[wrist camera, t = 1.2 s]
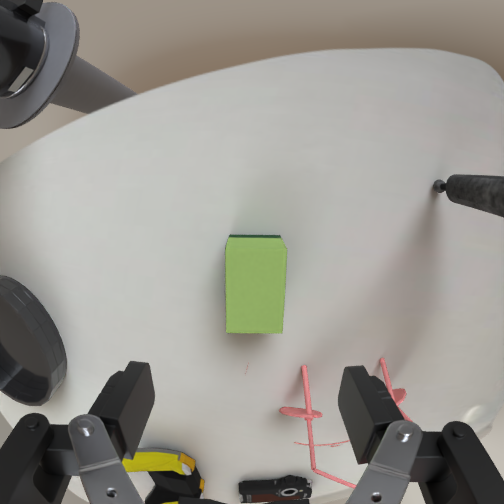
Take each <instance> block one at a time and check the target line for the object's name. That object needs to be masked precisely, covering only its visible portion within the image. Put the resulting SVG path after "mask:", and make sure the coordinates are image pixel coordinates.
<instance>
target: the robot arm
mask: <svg viewBox="0 0 504 504" xmlns="http://www.w3.org/2000/svg"><path fill="white" fill-rule="evenodd" d="M42 3H43V0H0V98H2V99H12V98H15V97H17V96H19V95H20V94H22V93H23V92H24V91H25V90H27V89H28V88H29V86H30V85H31V84H32V83H33V82H34V80H35V79H36V78H37V76H38V75H39V73H40V71H41V70H42V68H43V66H44V63H45V61H46V58H47V55H48V51H49V45H50V40H49V35H48V32H47V31H46V29H44V28H45V23H46V22H45V21H43V20H42V19H40V18H38V17H37V16H35V14H38V13H39V12H40V9H41V6H42ZM154 400H155V391H154V386H153V381H152V375H151V370H150V365H149V363H145V362H136V361H130V362H129V364H128V366H127V367H126V369H125V371H118V372H116V373H115V374H114V375H112V376H111V377H110V378H109V380H108V381H107V383H106V384H105V386H104V388H103V389H102V391H101V393H100V394H99V396H98V397H97V399H96V401H95V402H94V404H93V406H92V407H91V409H90V411H89V412H88V414H84V415H80V416H77V417H75V418H74V419H72V420H71V422H70V423H69V425H55V424H50V423H49V421H48V419H47V418H46V417H45V416H44V415H42V414H39V413H31V414H27V415H25V416H23V417H22V418H21V419H20V420H19V422H18V423H17V425H16V426H15V427H14V429H13V430H12V432H11V434H10V435H9V436H8V438H7V440H6V441H5V443H4V444H3V446H2V447H1V449H0V504H61V502H62V499H63V497H64V494H65V492H66V489H67V487H68V484H69V482H70V479H71V477H72V476H80V479H81V481H82V484H83V487H84V490H85V492H86V495H87V497H88V500H89V502H90V504H144V502H143V500H142V499H141V497H140V495H139V494H138V492H137V490H136V488H135V487H134V485H133V483H132V481H131V479H130V477H129V475H128V474H127V472H126V470H125V468H124V466H123V464H122V461H123V458H125V459H130V460H133V458H134V456H135V453H136V450H137V448H138V445H139V442H140V439H141V437H142V434H143V431H144V429H145V426H146V423H147V421H148V418H149V415H150V413H151V410H152V408H153V405H154ZM338 406H339V410H340V413H341V416H342V419H343V421H344V424H345V427H346V430H347V433H348V436H349V439H350V442H351V445H352V448H353V451H354V454H355V457H356V460H357V463H358V465H359V464H365V463H368V466H367V468H366V470H365V472H364V473H363V475H362V477H361V479H360V480H359V482H358V484H357V486H356V487H355V489H354V491H353V492H352V494H351V496H350V497H349V499H348V500H347V502H346V504H400V503H401V501H402V499H403V496H404V494H405V491H406V489H407V486H408V484H409V482H418V484H419V487H420V489H421V492H422V495H423V498H424V500H425V503H426V504H504V480H503V478H502V477H501V475H500V473H499V472H498V470H497V468H496V467H495V465H494V463H493V461H492V460H491V458H490V456H489V455H488V453H487V452H486V450H485V448H484V447H483V445H482V443H481V442H480V440H479V439H478V437H477V436H476V434H475V432H474V431H473V429H472V428H471V427H470V426H469V425H467V424H466V423H463V422H460V421H453V422H449V423H447V424H446V425H445V426H444V428H443V430H442V432H426V431H422V430H421V428H420V427H419V426H418V425H417V424H415V423H414V422H411V421H407V420H405V419H404V417H403V415H402V414H401V412H400V410H399V408H398V407H397V405H396V403H395V401H394V400H393V398H392V396H391V394H390V393H389V392H388V389H387V388H386V386H385V384H384V382H382V381H381V380H380V379H378V378H377V377H376V376H369V374H368V372H367V371H366V369H365V367H364V366H363V365H362V366H350V367H345V369H344V372H343V377H342V381H341V386H340V390H339V395H338ZM178 504H226V503H222V502H218V501H214V500H211V499H199V498H190V497H181V496H179V499H178ZM265 504H309V499H298V500H281V501H274V502H269V503H265Z"/></svg>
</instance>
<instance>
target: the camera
mask: <svg viewBox="0 0 504 504" xmlns="http://www.w3.org/2000/svg"><path fill="white" fill-rule="evenodd" d="M311 485H312V481H311V480H307V479H306V478H302V477H298V476H296V477H295V476H292V475H289V476H287V477H286V478H281V479H275V480H260V481H243V482H242V483H239V497H240V502H241V503H258V502H274V501H281V500H295V499H303V498H310V497H311V494H312V489H311Z"/></svg>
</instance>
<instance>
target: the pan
mask: <svg viewBox="0 0 504 504" xmlns="http://www.w3.org/2000/svg"><path fill="white" fill-rule="evenodd" d="M65 374H66V354H65V350H64V346H63V343H62V340H61V337H60V335H59V332H58V330H57V328H56V326H55V324H54V322H53V320H52V319H51V317H50V316H49V314H48V312H47V311H46V310H45V308H44V307H43V305H42V304H41V303H40V302H39V300H38V299H37V298H36V297H35V296H34V295H33V294H32V293H31V292H30V291H29V290H28V289H27V288H26V287H25V286H23V285H22V284H20V283H19V282H17V281H16V280H14V279H12V278H9V277H7V276H2V275H0V391H1V392H3V393H4V394H6V395H7V396H9V397H10V398H12V399H13V400H15V401H17V402H20V403H22V404H25V405H28V406H41V405H42V404H44V403H46V402H47V401H49V400H50V398H51V397H52V396H53V394H54V393H55V392H56V390H57V389H58V388H59V386H60V384H61V382H62V381H63V379H64V377H65Z"/></svg>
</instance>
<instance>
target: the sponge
mask: <svg viewBox="0 0 504 504" xmlns="http://www.w3.org/2000/svg"><path fill="white" fill-rule="evenodd" d="M286 262H287V248H286V246H285V244H284V242H283V240H282V238H281V236H280V235H229V238H228V241H227V244H226V248H225V283H226V333H282V331H283V316H284V299H285V281H286Z"/></svg>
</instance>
